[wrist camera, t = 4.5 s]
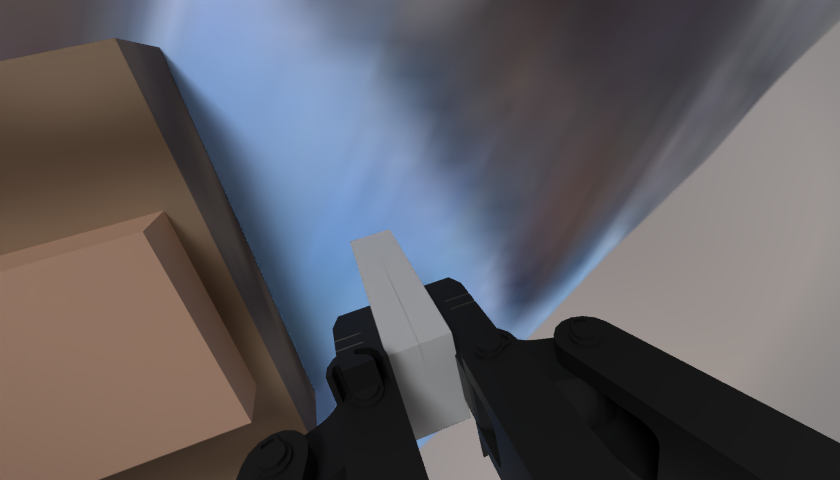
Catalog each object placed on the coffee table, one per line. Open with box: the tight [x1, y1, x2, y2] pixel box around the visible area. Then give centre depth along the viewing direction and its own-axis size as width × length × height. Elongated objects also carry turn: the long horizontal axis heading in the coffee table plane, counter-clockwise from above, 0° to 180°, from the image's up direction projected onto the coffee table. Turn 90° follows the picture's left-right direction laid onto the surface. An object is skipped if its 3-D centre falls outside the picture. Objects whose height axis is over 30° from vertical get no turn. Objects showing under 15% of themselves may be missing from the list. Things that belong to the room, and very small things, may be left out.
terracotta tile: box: [0, 211, 257, 480], centre depth 13 cm, size 8×8×2 cm
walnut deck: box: [0, 38, 317, 480], centre depth 16 cm, size 18×12×4 cm, turn 13°
